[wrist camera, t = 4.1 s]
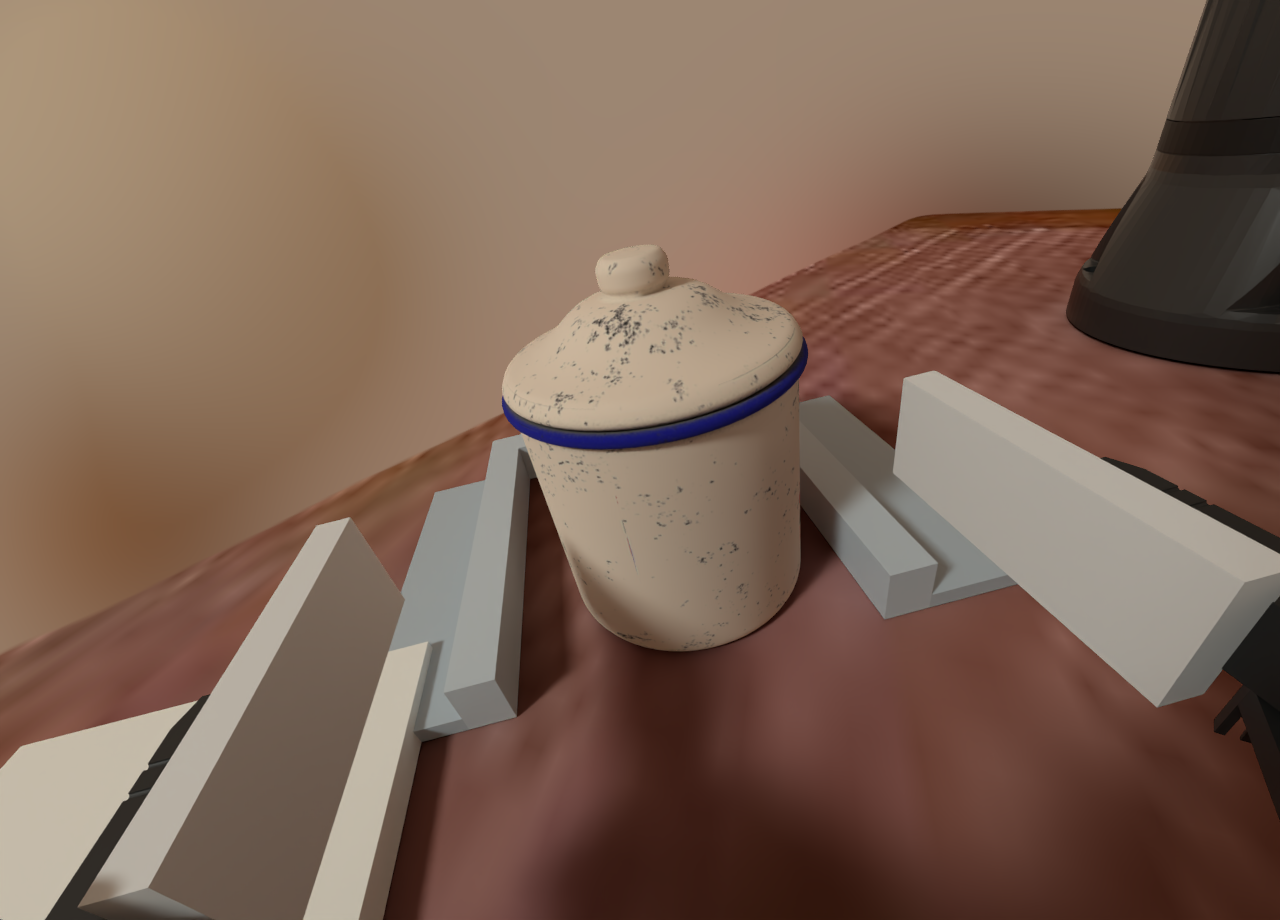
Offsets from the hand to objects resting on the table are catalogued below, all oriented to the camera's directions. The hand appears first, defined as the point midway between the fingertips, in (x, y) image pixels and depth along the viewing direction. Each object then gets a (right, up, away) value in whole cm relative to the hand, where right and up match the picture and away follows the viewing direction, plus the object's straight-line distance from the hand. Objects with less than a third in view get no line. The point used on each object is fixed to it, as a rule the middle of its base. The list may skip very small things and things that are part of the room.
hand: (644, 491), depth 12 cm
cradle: (+1, -2, +10) cm, 10 cm away
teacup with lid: (+1, -3, +9) cm, 9 cm away
